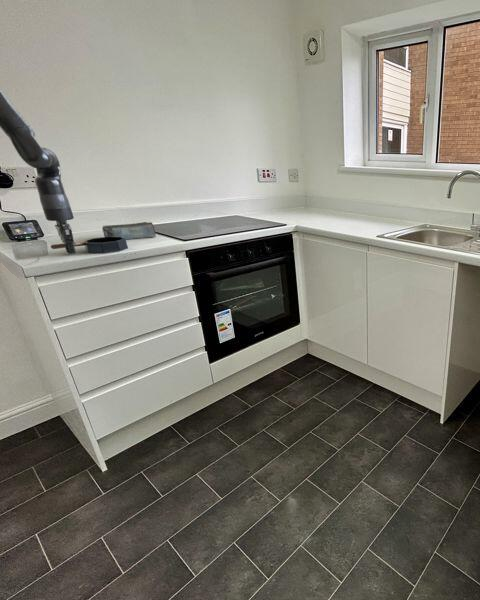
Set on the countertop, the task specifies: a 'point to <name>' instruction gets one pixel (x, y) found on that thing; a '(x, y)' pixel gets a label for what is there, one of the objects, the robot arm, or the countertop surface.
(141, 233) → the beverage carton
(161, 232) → the countertop surface
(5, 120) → the robot arm
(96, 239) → the black frying pan
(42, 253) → the countertop surface
